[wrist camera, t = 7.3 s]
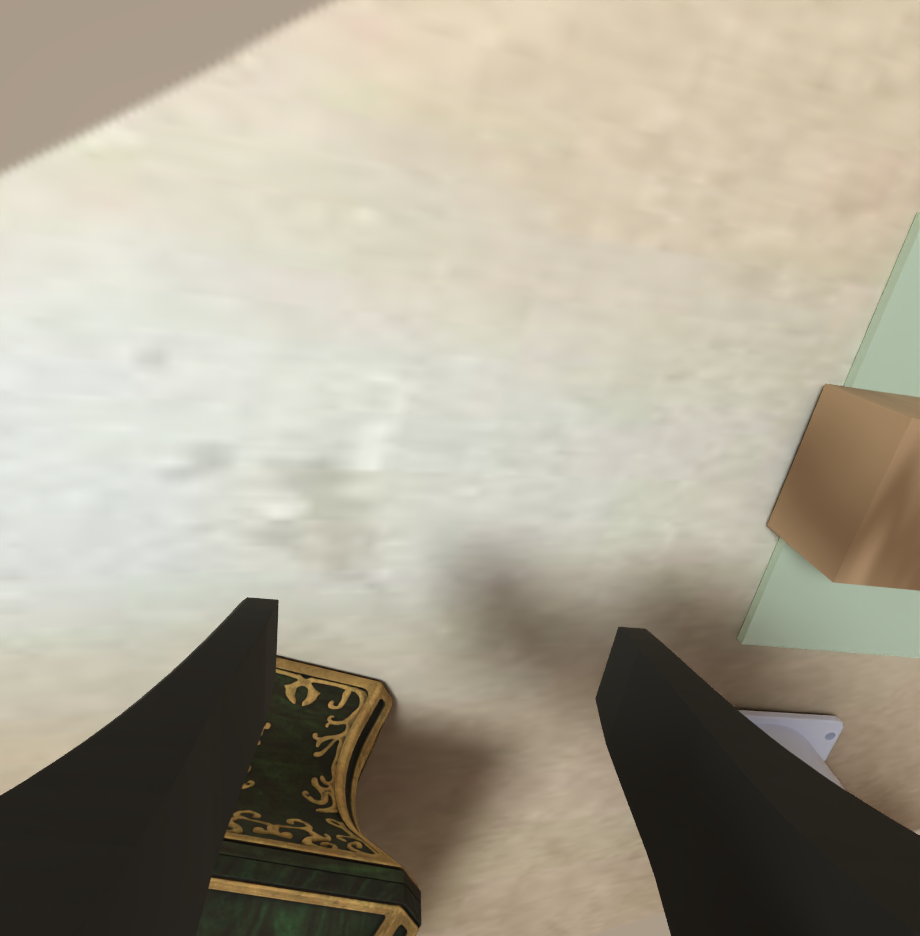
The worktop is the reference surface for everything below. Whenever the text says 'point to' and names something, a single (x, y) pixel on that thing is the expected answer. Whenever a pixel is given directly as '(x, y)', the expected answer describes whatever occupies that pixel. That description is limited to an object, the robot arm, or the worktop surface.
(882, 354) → the green pad
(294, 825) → the decorative box
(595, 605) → the worktop surface
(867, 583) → the tan rectangular block
